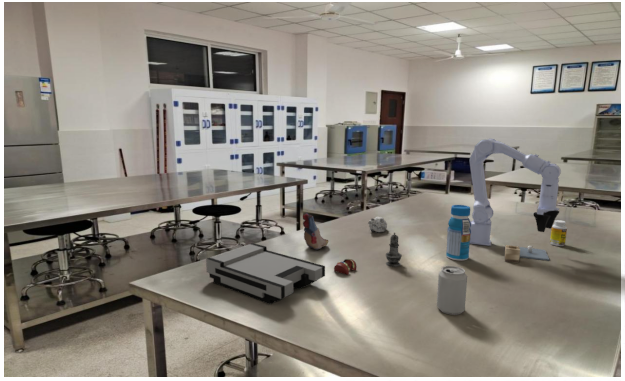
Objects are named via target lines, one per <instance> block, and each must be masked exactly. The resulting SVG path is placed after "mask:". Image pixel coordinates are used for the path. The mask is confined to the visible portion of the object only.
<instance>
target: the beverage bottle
mask: <svg viewBox="0 0 625 381" xmlns="http://www.w3.org/2000/svg"><path fill="white" fill-rule="evenodd" d="M450 209H451V210H450V214H451V217H450V218H449V220H448V223H447V225H448V227H447V229H446V230H447V235H446V252H445V256H446V257H447V259H449V260H453V261H460V262H461V261H462V262H463V261H467V260H468V259H469V257H470V235H471V229H470V227H471V222H470V221H471V220H470V218H469V217H470V215H471V206H468V205H464V204H452V205H451V207H450Z"/></svg>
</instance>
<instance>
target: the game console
mask: <svg viewBox="0 0 625 381" xmlns="http://www.w3.org/2000/svg"><path fill="white" fill-rule="evenodd" d="M205 263H206V264H205V265H206V267H205V269H206V273H207V274H209V275H208V276H209V278H211V279H213V280H212V281H213V284H216V285H218V286H220V287H223V288H226V289H228V290H230V291H233V292H236V293H239V294H242V295H244V296H246V297H250V298H252V299H255V300H257V301H259V302H262V303H266V304H268V305H272V304H273V303H276V302H277V303H278V302H279V301H281V300H283V299H284V298H286V297H288V296H291V295H292V294H294V288H295V289H297V290H300V289H302V288H305V287H306V288H307V286H309V285H311V284H313V283H315V282H317V281H318V280H320V279H323V277H325V276H326V265H323V264H319V263H316V262H312V261H308V260H304V259H301V258H297V257H293V256H291V255H290V256H289V255H287V254H283V253H278V252H275V251H272V250H268V248H267V246H266V245H265V246H264V245H262V244H257V243H253V242H252V243H249V244H246V245H243V246H240V247H237V248H234V249H231V250H227V251H225V252H222V253H219V254H217V255H212V256H210V257H207V258H205Z"/></svg>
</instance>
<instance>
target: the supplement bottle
mask: <svg viewBox="0 0 625 381" xmlns="http://www.w3.org/2000/svg"><path fill="white" fill-rule="evenodd" d="M566 223H567V222H566V221H565V220H561V219H560V220H559V219H557V220H556V219H555V220H554V223H553V226H552V228H551V229H550V230H551V231H550V238H549V243H550V245H552V246H555V247H564V246H565V245H566V241H567V240H566V239H567V232H568V227H567V225H566Z"/></svg>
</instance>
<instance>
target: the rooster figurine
mask: <svg viewBox="0 0 625 381" xmlns="http://www.w3.org/2000/svg"><path fill="white" fill-rule="evenodd" d="M302 218H303V219H304V221H303V222H302V225H303V227H304V229H303V231H304V233H303V239H304V241H305V244H306V246H308V248H310V249H314V250H316V251H317V250H320V249H322V247H325V246H327V245H328V243H329V239H325V238H324V237H323V236H321V232H320V228H319V227H317V225H316V222H315V219H314V216H313V215H312V214H309V213H308V212H305V213H304V214H303V215H302Z"/></svg>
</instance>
